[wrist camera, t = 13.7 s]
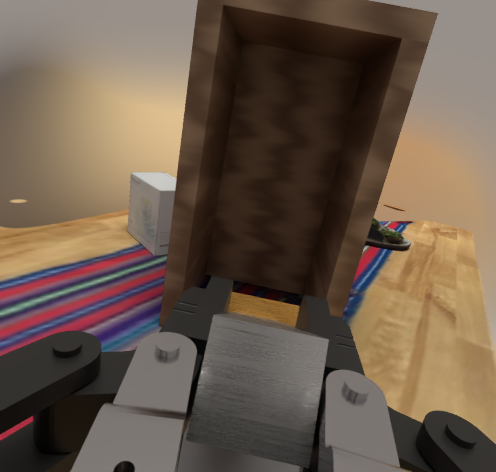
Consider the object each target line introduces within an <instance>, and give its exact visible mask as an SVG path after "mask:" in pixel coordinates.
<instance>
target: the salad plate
mask: <svg viewBox="0 0 496 472" xmlns="http://www.w3.org/2000/svg"><path fill="white" fill-rule="evenodd" d="M365 245H368V246H373V247H378V248H384V249H390V250H405V249H407V248H409V247H410V245H411V242H410V241H408V240H407V239H405V238H403V237H402V236H401V234H399V233H397V232H396V231H394V230H393V229H391V228H388V227H385V226H382V225H380V224H379V222H378V221H377V220H376V219H374V218H373V220H372V223H371V227H370V230H369V233H368V236H367V239H366V242H365Z"/></svg>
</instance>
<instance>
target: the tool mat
mask: <svg viewBox="0 0 496 472" xmlns="http://www.w3.org/2000/svg"><path fill="white" fill-rule="evenodd" d="M190 418H191V417H190ZM189 423H190V420H189ZM188 427H189V424H188ZM188 427H187V429H186V431H185V432H184V436H183V442H182V448H181V454H180V459H179V465H178V471H177V472H299V468H300V466H296V465H292V464H287V463H283V462H279V461H274V460H270V459H265V458H261V457H257V456H252V455H248V454H243V453H239V452H234V451H230V450H226V449H221V448H217V447H212V446H208V445H204V444H199V443H195V442H190V441H186V436H187V432H188Z"/></svg>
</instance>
